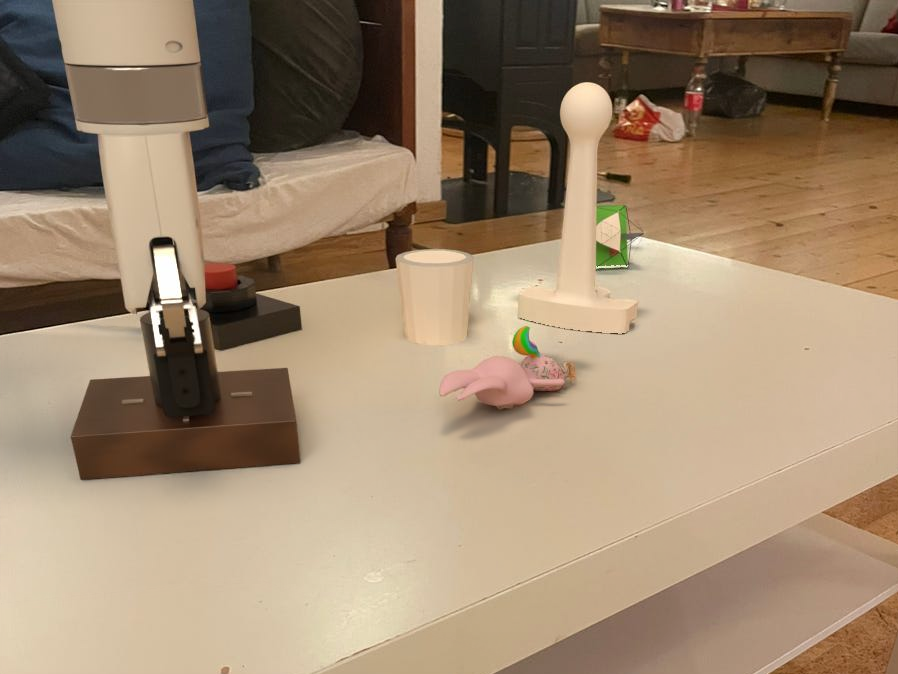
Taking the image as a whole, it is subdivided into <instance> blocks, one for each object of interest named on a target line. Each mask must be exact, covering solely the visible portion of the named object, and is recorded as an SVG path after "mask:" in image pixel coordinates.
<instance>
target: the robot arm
mask: <svg viewBox="0 0 898 674" xmlns="http://www.w3.org/2000/svg"><path fill="white" fill-rule="evenodd" d="M51 2H52V7H53V12H54V17H55V23H56V29H57V34H58V40H59V43H60V47H61V48H60V49H61V53H62V59H63V63H64V69H65V74H66V80H67V84H68V90H69V95H70V101H71V106H72V110H73V116H74V121H75V126H76V130H77V131H79V132H82V133H86V134H96V135H97V142H98V153H99V162H100V170H101V176H102V183H103V189H104V195H105V201H106V206H107V213H108V219H109V223H110V230H111V234H112V235H111V236H112V239H113V244H114V250H115V255H116V256H115V257H116V261H117V267H118V272H119V278H120V284H121V290H122V295H123V301H124V308H125V309H126V310H127V311H128V312H129V313H130V314H132V315H138V309H143V308H146V304H147V300H149V311H148V312H150V314H151V319H152V325H153V331H154V337H155V344H156V350H157V354H154V360H155V366H156V372H157V377H158V383H159V389H160V394H161V400H162V406H163V411H164V414H165V416H167V417H169V418H174V417H184V416H195V415H205V414H212V413H213V412H214V411H215V404H214V397H213V390H212V383H211V376H210V369H209V363H208V356H207V350H203V348H202V341H201V335H200V329H199V323H198V316H197V309H200V308H201V307H202V306H203V305H204V304H205V303H206V292H205V269H204V264H205V254H204V242H203V241H204V240H203V231H202V219H201V211H200V203H199V196H198V195H199V193H198V187H197V178H196V170H195V163H194V156H193V149H192V142H191V135H190V132H196V131H202V130H205V129H207V128H209V127H210V121H209V116H208V114H209V113H208V106H207V99H206V90H205V84H204V83H205V82H204V75H203V68H202V63H201V53H200V46H199V38H198V30H197V22H196V21H197V20H196V14H195V7H194V6H195V5H194V0H51ZM159 298H160V300H159ZM184 298H185V300H184ZM185 316H189V317H185ZM160 318H164V319H160ZM191 335H192V336H191ZM192 340H193V343H192ZM164 342H165V344H164ZM193 348H194V350H193Z"/></svg>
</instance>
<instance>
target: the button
mask: <svg viewBox="0 0 898 674" xmlns="http://www.w3.org/2000/svg"><path fill="white" fill-rule="evenodd" d="M204 269H205V289H224V288H230V287H235V286H238V280H237V275H238V274H237V273H238V272H237V266H236V265H235V264H231V263H228V262H227V263H225V262H211V263H204Z"/></svg>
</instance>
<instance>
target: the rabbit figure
mask: <svg viewBox="0 0 898 674" xmlns="http://www.w3.org/2000/svg"><path fill="white" fill-rule="evenodd" d="M530 329H531V327H530V326H528V325H524V326H522V327H520V328H519V329H517V330H516V332H515V333H514V335H513V338H512V348H513V349H514V351H515V352H516V353H517V354H519V355H521V356H525V357H524V359H522V362H521V364H519V362H517V361H516V360H515V359H512V358H510V357H508V356H504V355H496V356H495V355H494V356H491V357H487V358H486V359H483V360H481V361H480V362H478V363H477V365H475V366H474V367H473V368H472V369H458V370H453V371H451V372H449V373H447V374H446V375H444V377H443V378H442V380H441V382H440V385H439V389H438V394H439V396H440V397H442V398H443V397H446V396H448V395H449V394H452V393H454V392H456V391H459V390H462V391H461V392H460V393H459V394H458V395H457V396H456V398H455V400H456V401H458V402H460V401H464V400H466V399H468V398H469V397H472V396H473V395H475V397H476V399H478V400H479V401H480V402H481V403H483V404H486V405H489V406H492V407H493V406H494V407H496V408H497V409H498V410H499V411H501V410H504V409H507V410H510V409H513V408H514V406H520V405H524V404H526V403H527V402H529V401H530V400H531V399H532V398H533V396H534V394H535V393H534V391H537V392H545V391H547V392H557V391H558V390H560V389H561V388H563V387H564V386H565V383H566V381H567V378H568V377H569V382H570V384H573V381H572V379H574V381H577V380H578V379H577V378H576V371H575V368H576V367H575V362H576V360H575V359H574V360H573V361H572V363H570V361H569V360H567V361H565V362H564V363H562V364H559V363H558V362H557V360H555V359H554V358H552V357H550V354H548V355H547V356H546V355H543V354H542V353H541V352H540V351H539V349H538V346H537V345H536V343H535V342H533V341H531V340H530Z"/></svg>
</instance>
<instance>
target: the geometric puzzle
mask: <svg viewBox="0 0 898 674" xmlns="http://www.w3.org/2000/svg"><path fill="white" fill-rule="evenodd" d="M635 222H636V223H637V225H638V226H639V227H638V226H637V225H636V224H635V223H633V222H632V221H631V220H629V213H628V207H627V204H619V205H618V204H617V205H615V204H614V205H597V212H596V266H597V267H598V266H605V265H606V266H611V265H614V266H616V265H620V266H621V265H626V266H627V265H629V266H630V264H631V262H632V260H633V259H631V261H630V257H631V248H632V243H633V242H635V241H636V240H637V239H638V238H640V237H641V239H640V240H639V242H642V238H643V237H642V236H643V235H644V234H645V233H646V231H644V230H643V229H642V228H641V226H640V224H639V223H638V221H637V220H635ZM630 223H631V224H633V225H634V226H635V227H636V228H637V229H639V230H640V231H641V232H631V228H630ZM627 224H628V225H627ZM627 226H628V227H627ZM628 230H629V231H628ZM628 232H629V233H628ZM628 246H629V254H628ZM637 250H638V248H636V249H635V251H634V253H636V252H637Z"/></svg>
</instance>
